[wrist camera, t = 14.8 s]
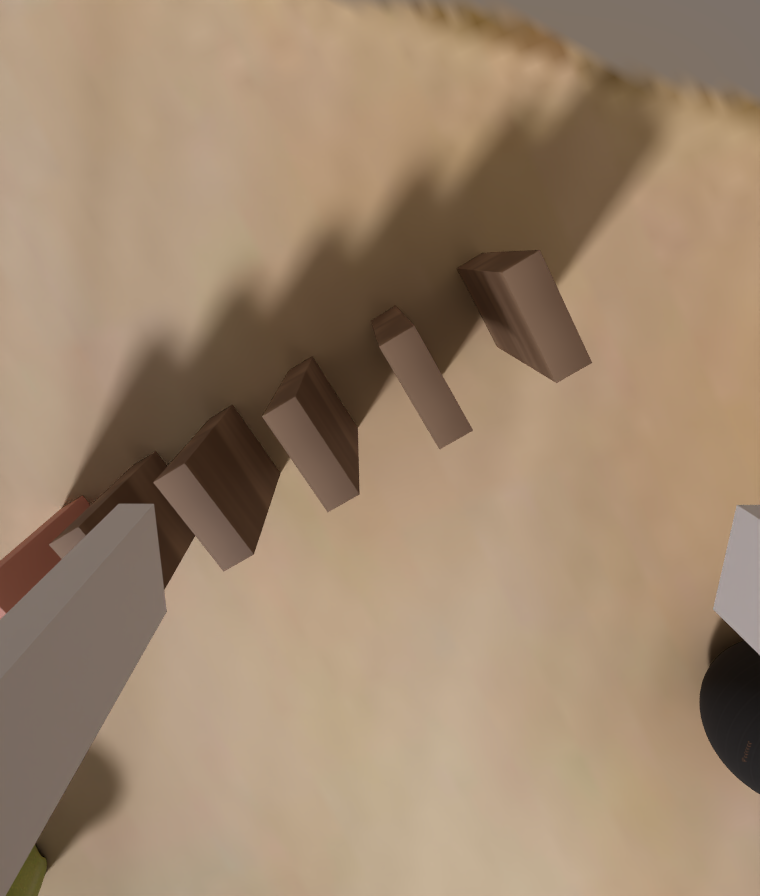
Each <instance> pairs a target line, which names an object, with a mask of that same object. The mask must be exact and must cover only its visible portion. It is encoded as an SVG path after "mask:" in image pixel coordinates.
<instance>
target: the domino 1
mask: <svg viewBox="0 0 760 896" xmlns="http://www.w3.org/2000/svg"><path fill="white" fill-rule="evenodd" d="M89 506H91V505H90V504H89V503H88V501H87V500H86V499H85V498H84V497H83V496H81V497H79V498H78V499H76V500H74V501H73V502H71V503H70V504H68V505H66V506H65V507H63V508H61V509H60V510H59V511H58V512H57V513H56V514H54V515H53V516H52V517H51V518H50V519H49V520H47V521H46V522H45V523H44V524H43V525H42V526H40V527H39V528H38V529H37V530H36V531H35V532H33V533H32V534H31V535H30V536H29V537H28V538H26V539H25V540H24V541H23V542H22V543H20V544H19V545H18V546H17V547H16V548H15V549H13V550H12V551H11V552H10V553H9V554H8V555H6V556H5V557H4V558H3V559H2V560H1V561H0V619H1V618H2V617H3V616H4V615H5V614H6V613H7V612H8V611H9V610H10V609H11V608H13V607H14V606H15V605H16V604H17V603H18V602H19V601H20V600H21V599H22V598H23V597H24V596H25V595H26V594H27V593H28V592H29V591H30V590H31V589H32V588H33V587H34V586H35V585H36V584H37V583H38V582H39V581H40V580H41V579H42V578H43V577H44V576H45V575H46V574H47V573H48V572H49V571H50V570H51V569H52V568H53V567H54V566H55V565H57V564H58V563H59V562H60V561H61V560H62V559H61V558H60V557H59V555H58V554H57V553H56V552H55V551H54V550H53V549H52V548H51V547H50V545H49V544H50V543H51V542H52V541H53V540H54V539H55V538H56V537H57V536H59V535H60V534H61V533H62V532H63V531H64V530H65V529H66V528H67V527H68V526H69V525H70V524H71V523H72V522H73V521H75V520H76V519H77V518H78V517H79V516H80V515H81V514H82V513H83V512H84V511H85V510H86V509H87V508H88V507H89Z"/></svg>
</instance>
